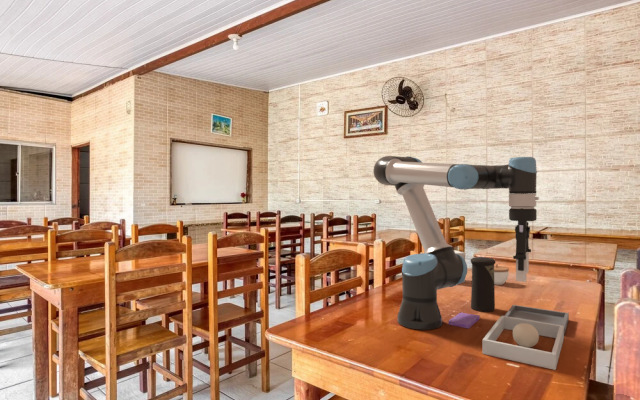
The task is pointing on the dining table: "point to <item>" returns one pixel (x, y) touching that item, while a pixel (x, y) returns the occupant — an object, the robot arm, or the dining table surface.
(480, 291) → the container
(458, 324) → the sponges
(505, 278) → the lidded jar
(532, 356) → the light grey rectangular frame
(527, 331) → the cream round ball
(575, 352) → the dining table surface
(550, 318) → the slate tray
